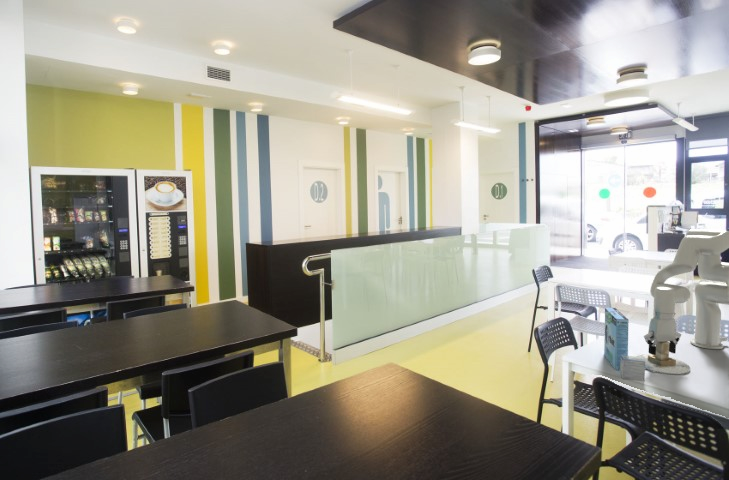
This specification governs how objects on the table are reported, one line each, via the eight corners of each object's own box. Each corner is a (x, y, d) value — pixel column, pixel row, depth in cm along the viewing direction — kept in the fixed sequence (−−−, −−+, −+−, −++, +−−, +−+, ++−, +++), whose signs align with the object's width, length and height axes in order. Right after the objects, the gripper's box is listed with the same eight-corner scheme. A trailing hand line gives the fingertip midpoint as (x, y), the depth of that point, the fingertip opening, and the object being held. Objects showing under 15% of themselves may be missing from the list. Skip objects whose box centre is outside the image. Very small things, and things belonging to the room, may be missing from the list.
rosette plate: (662, 355, 194) (662, 347, 194) (702, 372, 174) (702, 364, 174) (623, 358, 191) (624, 351, 191) (660, 376, 172) (660, 368, 171)
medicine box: (641, 377, 172) (642, 356, 171) (644, 381, 168) (645, 361, 167) (619, 374, 174) (620, 355, 174) (622, 379, 170) (623, 359, 169)
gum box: (627, 371, 178) (629, 319, 175) (614, 370, 179) (615, 318, 177) (615, 354, 196) (616, 307, 194) (603, 353, 198) (604, 307, 195)
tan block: (661, 361, 185) (663, 339, 184) (668, 364, 181) (669, 342, 180) (654, 361, 184) (655, 339, 183) (660, 364, 181) (661, 342, 180)
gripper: (673, 311, 185) (672, 348, 187) (639, 314, 183) (637, 351, 185) (689, 316, 178) (686, 354, 180) (652, 319, 176) (651, 357, 177)
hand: (661, 353), depth 182 cm, fingers open, 9 cm apart
